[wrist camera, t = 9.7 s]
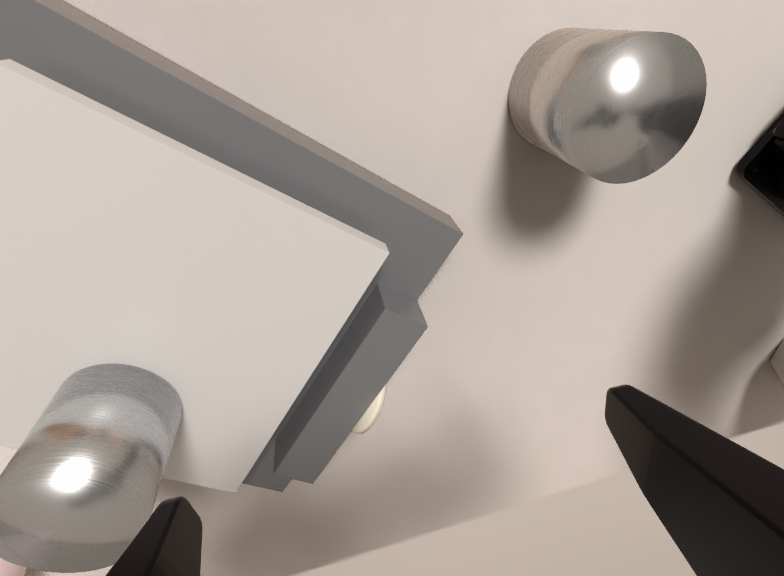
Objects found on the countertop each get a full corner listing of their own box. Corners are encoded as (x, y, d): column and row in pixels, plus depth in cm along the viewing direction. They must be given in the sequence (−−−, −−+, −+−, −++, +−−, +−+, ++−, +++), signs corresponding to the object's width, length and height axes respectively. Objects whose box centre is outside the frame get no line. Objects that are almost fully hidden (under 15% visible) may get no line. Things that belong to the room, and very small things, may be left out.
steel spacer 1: (199, 386, 18) (164, 503, 14) (160, 457, 19) (118, 581, 15) (75, 347, 16) (-9, 466, 12) (43, 428, 18) (-41, 559, 13)
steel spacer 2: (633, 70, 18) (733, 86, 14) (562, 165, 20) (632, 205, 16) (557, 1, 17) (645, -3, 12) (486, 112, 18) (542, 141, 14)
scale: (456, 219, 20) (493, 268, 16) (289, 462, 26) (288, 539, 23) (35, -16, 14) (-69, -27, 10) (-57, 378, 20) (-143, 465, 16)
